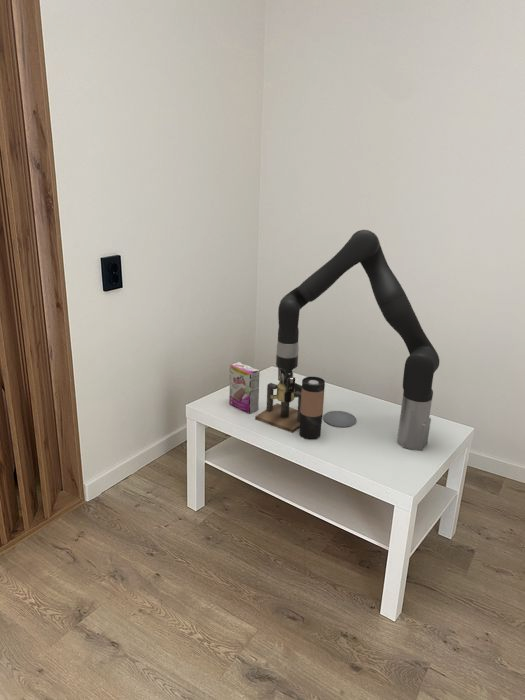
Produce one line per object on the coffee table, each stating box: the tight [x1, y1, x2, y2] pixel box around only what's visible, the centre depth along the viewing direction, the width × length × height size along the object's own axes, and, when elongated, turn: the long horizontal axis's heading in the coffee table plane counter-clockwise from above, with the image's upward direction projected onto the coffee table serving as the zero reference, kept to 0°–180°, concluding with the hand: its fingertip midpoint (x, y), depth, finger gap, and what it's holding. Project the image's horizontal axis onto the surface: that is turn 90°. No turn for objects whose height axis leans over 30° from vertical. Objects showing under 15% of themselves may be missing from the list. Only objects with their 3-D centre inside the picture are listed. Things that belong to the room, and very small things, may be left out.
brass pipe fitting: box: [270, 382, 298, 403], centre depth 194 cm, size 11×6×5 cm, turn 103°
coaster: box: [322, 410, 357, 429], centre depth 200 cm, size 12×12×1 cm
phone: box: [294, 382, 302, 393], centre depth 223 cm, size 8×1×15 cm
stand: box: [254, 382, 301, 433], centre depth 197 cm, size 16×14×12 cm
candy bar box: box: [228, 361, 260, 415], centre depth 204 cm, size 11×5×16 cm, turn 46°
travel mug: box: [299, 376, 326, 440], centre depth 185 cm, size 8×8×20 cm
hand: (285, 397), depth 195 cm, fingers closed on brass pipe fitting, 5 cm apart
